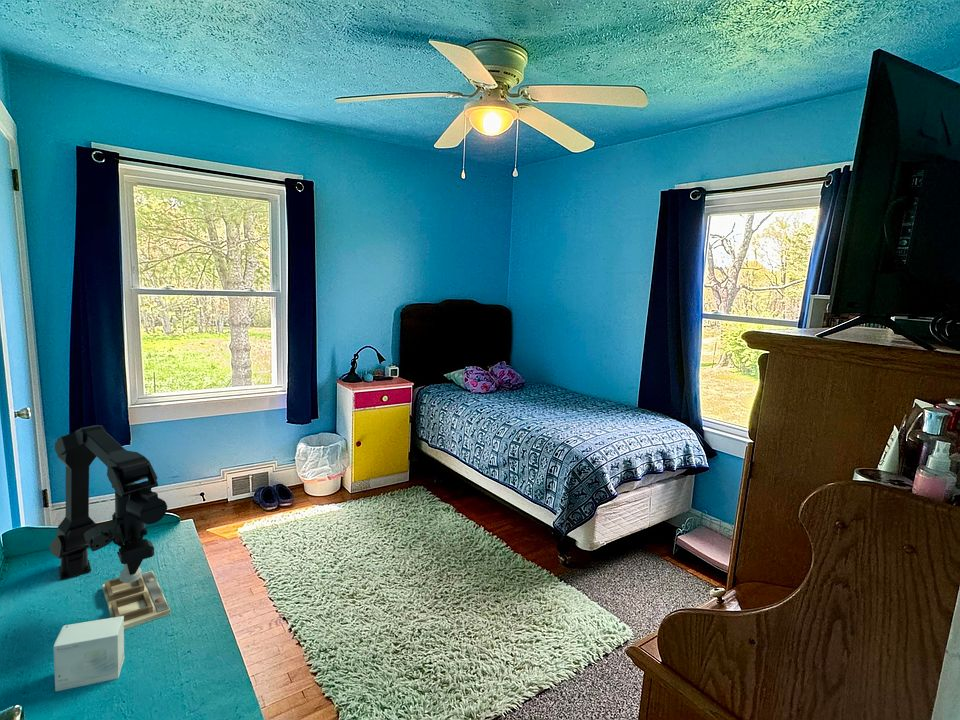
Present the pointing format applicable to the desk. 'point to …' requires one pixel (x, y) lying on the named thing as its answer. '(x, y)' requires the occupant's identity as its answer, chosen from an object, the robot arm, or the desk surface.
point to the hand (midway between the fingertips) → (131, 570)
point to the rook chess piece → (128, 578)
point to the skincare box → (89, 653)
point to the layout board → (136, 600)
